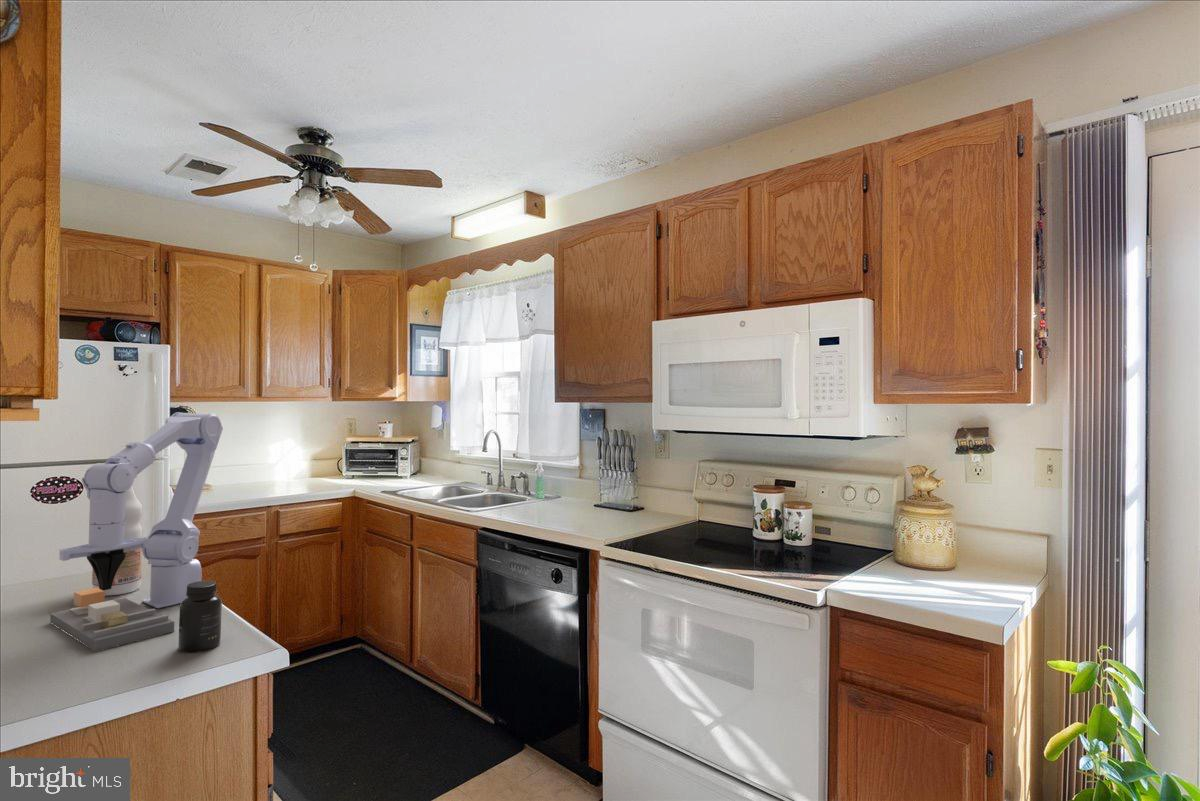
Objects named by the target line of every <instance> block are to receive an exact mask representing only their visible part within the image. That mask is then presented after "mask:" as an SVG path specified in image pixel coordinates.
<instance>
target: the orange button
mask: <svg viewBox="0 0 1200 801" xmlns="http://www.w3.org/2000/svg"><path fill="white" fill-rule="evenodd" d="M73 593H74V594H73V605H75V606H77V607H81V608H82V607H87V606H89V605H91V604H96V603H100V602H105V601H106V598H105V597H106V596H105V591H104V590H101V589H99V588H92V587H91V588H88V589H83V590H77V591H74V592H73Z"/></svg>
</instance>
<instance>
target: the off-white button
mask: <svg viewBox="0 0 1200 801" xmlns="http://www.w3.org/2000/svg"><path fill="white" fill-rule="evenodd" d="M115 611H120V604H119V603H117V602H115V601H114V600H113V599H111V600H107V601H106V600H105V602H100V603H96V604H91V605H89V608H88V617H89V618H90V619H92V620H94V621H100V620H101V615H102V614H106V613H111V612H115Z"/></svg>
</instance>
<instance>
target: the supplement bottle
mask: <svg viewBox="0 0 1200 801" xmlns="http://www.w3.org/2000/svg"><path fill="white" fill-rule="evenodd" d="M217 592H218V589H217V582H216V581H215V580H201V581H198V582H193V583H190V584H188V585H187V592H186V596H188V598H186V599H184V600H183V601H182V603H179V604H180V605H179V617H178V620H179V622H178V650H180V651H181V652H183V653H191V654H194V653H195V654H196V653H202V652H206V651H210V650H212V649H214V648H216V647H217V646H219V645H220V643H221V634H222V612H223V611H222V609H223V608H222V607H223V600H222V598H221V597H220V596H219V595H218V594H217Z"/></svg>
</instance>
